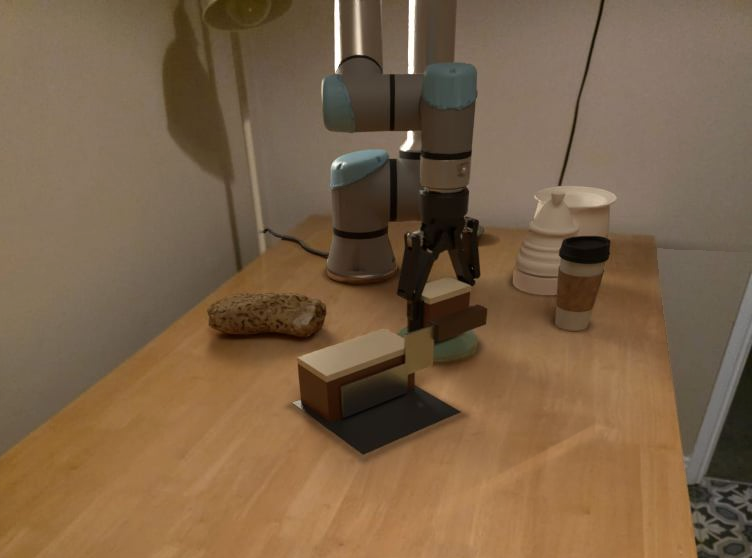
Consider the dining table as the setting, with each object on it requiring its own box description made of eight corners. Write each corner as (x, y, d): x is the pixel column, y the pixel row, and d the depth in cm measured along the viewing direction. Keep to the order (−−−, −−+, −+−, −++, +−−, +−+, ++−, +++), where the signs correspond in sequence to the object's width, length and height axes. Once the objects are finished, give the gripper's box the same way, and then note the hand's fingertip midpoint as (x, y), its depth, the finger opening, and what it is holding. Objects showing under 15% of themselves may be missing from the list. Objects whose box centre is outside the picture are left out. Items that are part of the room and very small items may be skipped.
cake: (329, 423, 96) (326, 376, 91) (300, 403, 100) (296, 357, 96) (414, 389, 103) (415, 344, 98) (384, 371, 108) (384, 327, 103)
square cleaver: (346, 420, 95) (344, 358, 89) (338, 414, 97) (334, 352, 91) (482, 366, 108) (487, 308, 102) (472, 361, 109) (477, 304, 103)
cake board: (292, 406, 101) (291, 402, 100) (385, 371, 109) (385, 368, 109) (363, 458, 90) (363, 454, 89) (461, 415, 98) (461, 411, 97)
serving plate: (380, 343, 118) (380, 335, 117) (439, 322, 124) (439, 314, 123) (433, 371, 109) (433, 363, 108) (493, 347, 115) (494, 339, 114)
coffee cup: (596, 335, 118) (614, 248, 109) (547, 332, 120) (561, 246, 110) (593, 316, 125) (610, 233, 115) (547, 314, 126) (560, 231, 117)
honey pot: (577, 296, 133) (595, 200, 121) (512, 293, 135) (523, 198, 123) (573, 274, 142) (590, 182, 131) (512, 271, 144) (523, 181, 133)
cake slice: (407, 332, 114) (408, 288, 110) (446, 318, 118) (448, 276, 114) (428, 342, 111) (430, 298, 106) (467, 328, 115) (471, 285, 110)
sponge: (328, 328, 126) (233, 295, 128) (331, 292, 120) (231, 259, 122) (300, 369, 118) (199, 334, 121) (301, 333, 112) (195, 297, 114)
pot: (538, 235, 164) (545, 181, 156) (611, 242, 159) (622, 187, 151) (518, 263, 148) (525, 204, 141) (597, 272, 143) (609, 212, 135)
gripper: (404, 204, 93) (402, 354, 107) (513, 179, 103) (497, 319, 117) (372, 194, 98) (374, 338, 112) (478, 171, 108) (468, 306, 122)
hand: (437, 328), depth 114 cm, fingers closed on cake slice, 9 cm apart
